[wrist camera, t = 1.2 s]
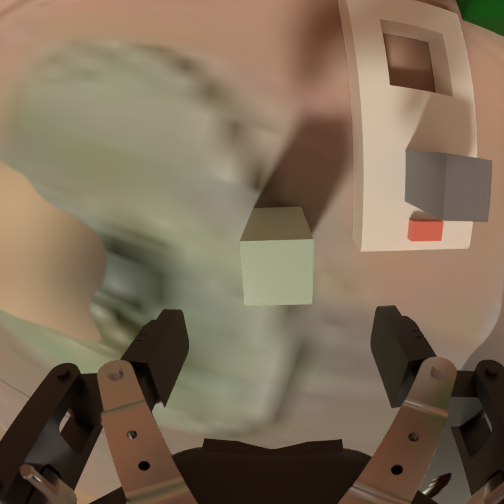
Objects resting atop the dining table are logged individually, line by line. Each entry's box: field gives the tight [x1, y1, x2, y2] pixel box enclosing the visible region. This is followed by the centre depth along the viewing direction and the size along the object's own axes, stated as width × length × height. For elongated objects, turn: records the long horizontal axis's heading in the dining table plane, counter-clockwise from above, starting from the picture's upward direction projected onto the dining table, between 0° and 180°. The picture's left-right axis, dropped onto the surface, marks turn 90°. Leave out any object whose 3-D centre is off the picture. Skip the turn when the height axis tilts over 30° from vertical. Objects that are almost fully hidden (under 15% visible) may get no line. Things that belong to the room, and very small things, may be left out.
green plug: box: [240, 207, 314, 305], centre depth 21 cm, size 4×4×9 cm
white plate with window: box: [338, 0, 492, 251], centre depth 16 cm, size 22×11×9 cm, turn 3°
